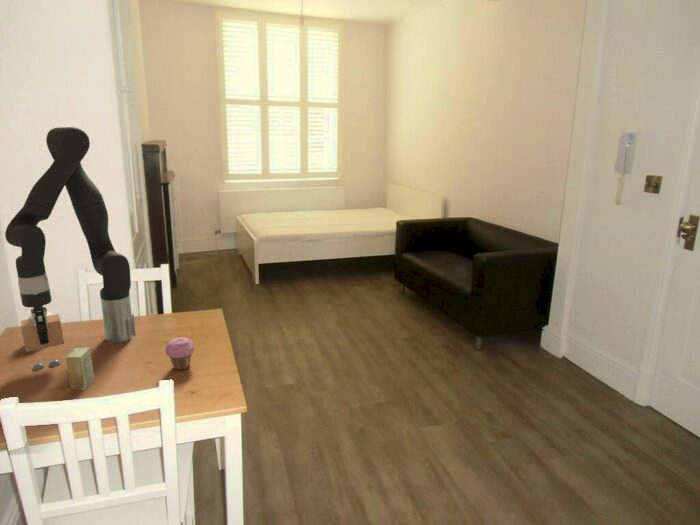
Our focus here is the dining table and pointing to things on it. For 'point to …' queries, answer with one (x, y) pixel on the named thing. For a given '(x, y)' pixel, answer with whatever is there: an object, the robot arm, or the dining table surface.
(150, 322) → the dining table surface
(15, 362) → the dining table surface
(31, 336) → the tan wooden block
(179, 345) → the cupcake
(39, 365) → the marble
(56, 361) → the marble
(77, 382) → the skincare box
